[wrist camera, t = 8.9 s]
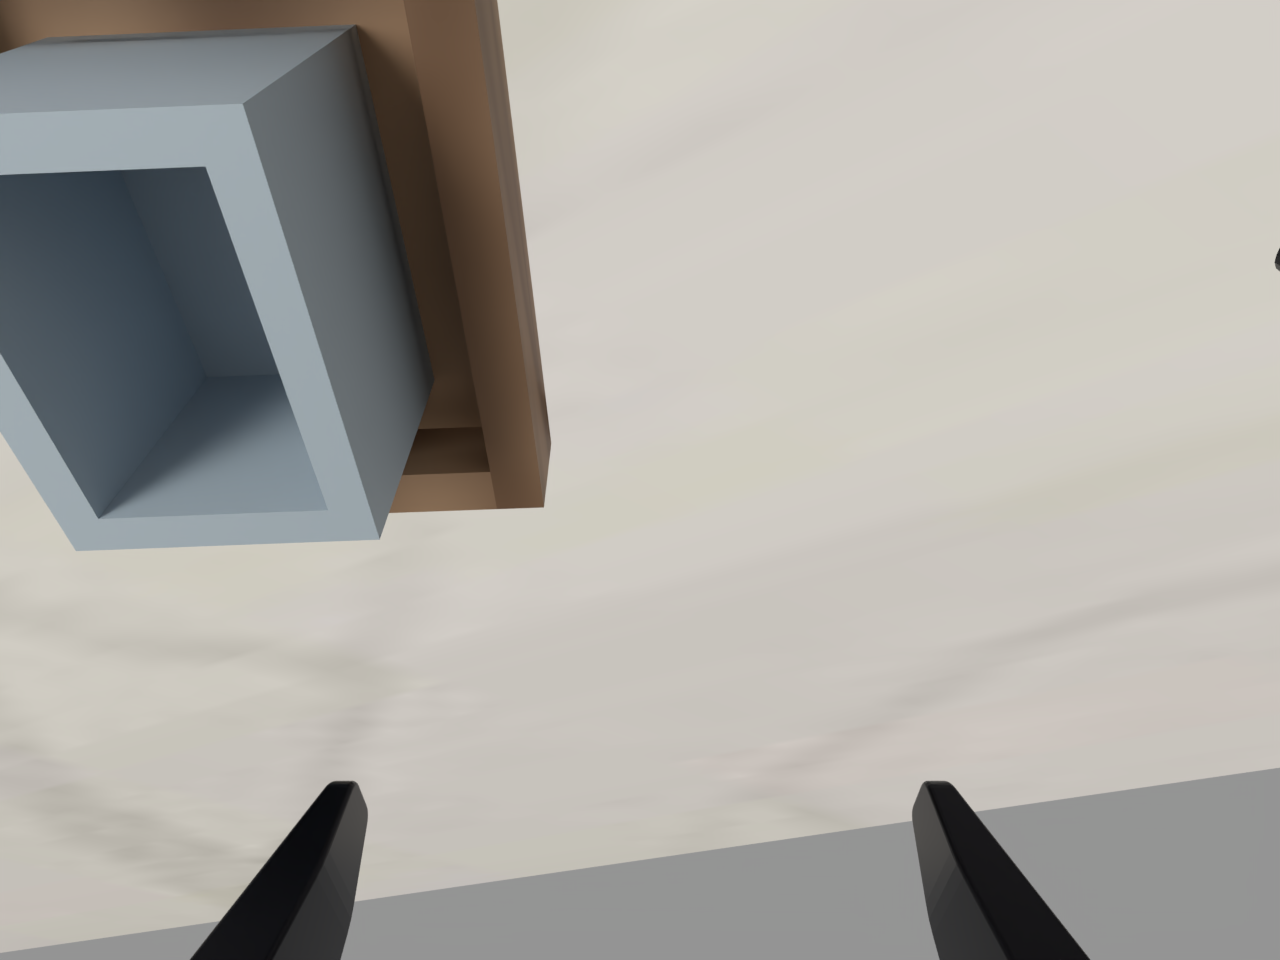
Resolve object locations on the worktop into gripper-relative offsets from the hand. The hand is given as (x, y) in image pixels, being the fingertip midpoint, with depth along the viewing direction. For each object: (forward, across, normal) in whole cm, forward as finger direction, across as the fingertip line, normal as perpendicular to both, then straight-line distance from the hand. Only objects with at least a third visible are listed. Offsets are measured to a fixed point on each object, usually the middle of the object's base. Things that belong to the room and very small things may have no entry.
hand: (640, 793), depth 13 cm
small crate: (+11, +8, -5) cm, 14 cm away
